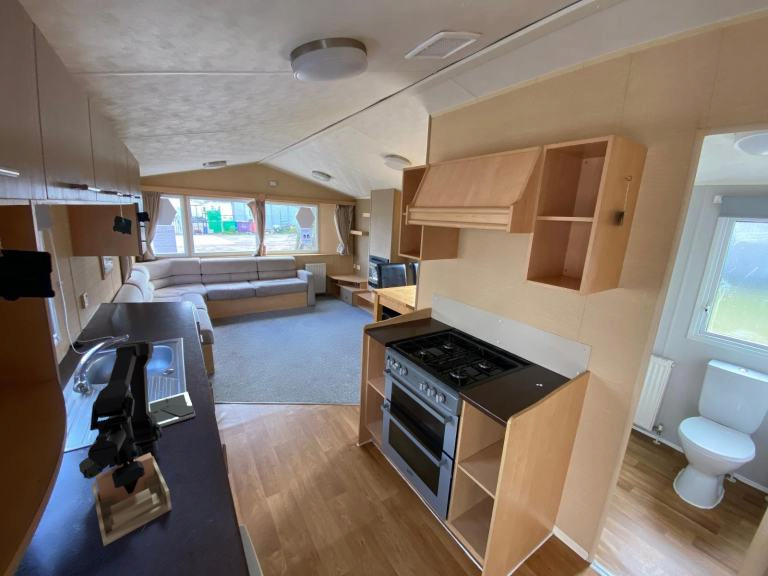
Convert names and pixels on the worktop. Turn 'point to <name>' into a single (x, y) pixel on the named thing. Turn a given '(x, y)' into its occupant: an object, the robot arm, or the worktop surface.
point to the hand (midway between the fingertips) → (128, 485)
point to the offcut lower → (155, 504)
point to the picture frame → (172, 409)
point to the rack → (104, 511)
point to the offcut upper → (131, 506)
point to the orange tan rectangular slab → (120, 493)
